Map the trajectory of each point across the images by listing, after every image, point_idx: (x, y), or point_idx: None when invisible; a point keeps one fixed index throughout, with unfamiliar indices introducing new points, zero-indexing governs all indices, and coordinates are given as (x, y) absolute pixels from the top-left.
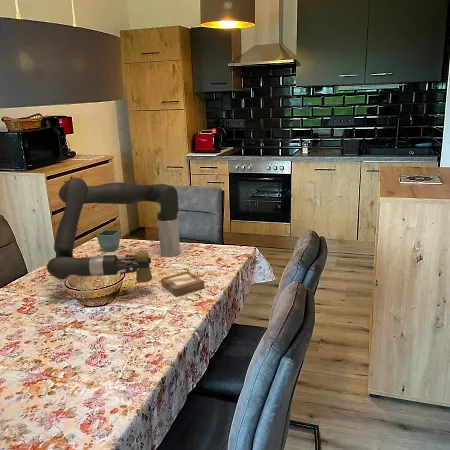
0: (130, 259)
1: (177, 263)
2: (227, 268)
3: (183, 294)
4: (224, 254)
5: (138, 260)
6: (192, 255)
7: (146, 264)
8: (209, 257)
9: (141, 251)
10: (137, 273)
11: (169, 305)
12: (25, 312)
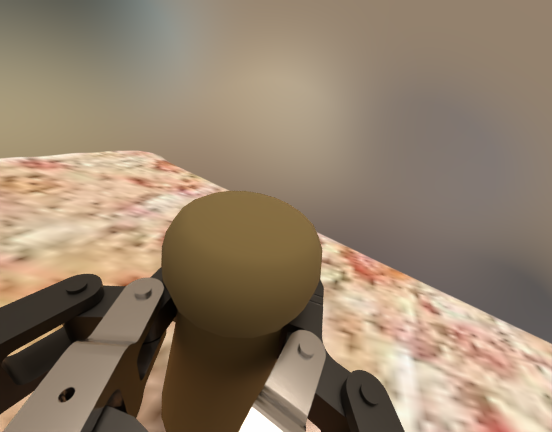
0: (93, 423)
1: (34, 229)
2: (200, 190)
3: None
4: (121, 169)
5: (302, 310)
6: (32, 191)
7: (321, 285)
8: (103, 183)
9: (242, 205)
10: (246, 415)
11: (376, 343)
12: None
